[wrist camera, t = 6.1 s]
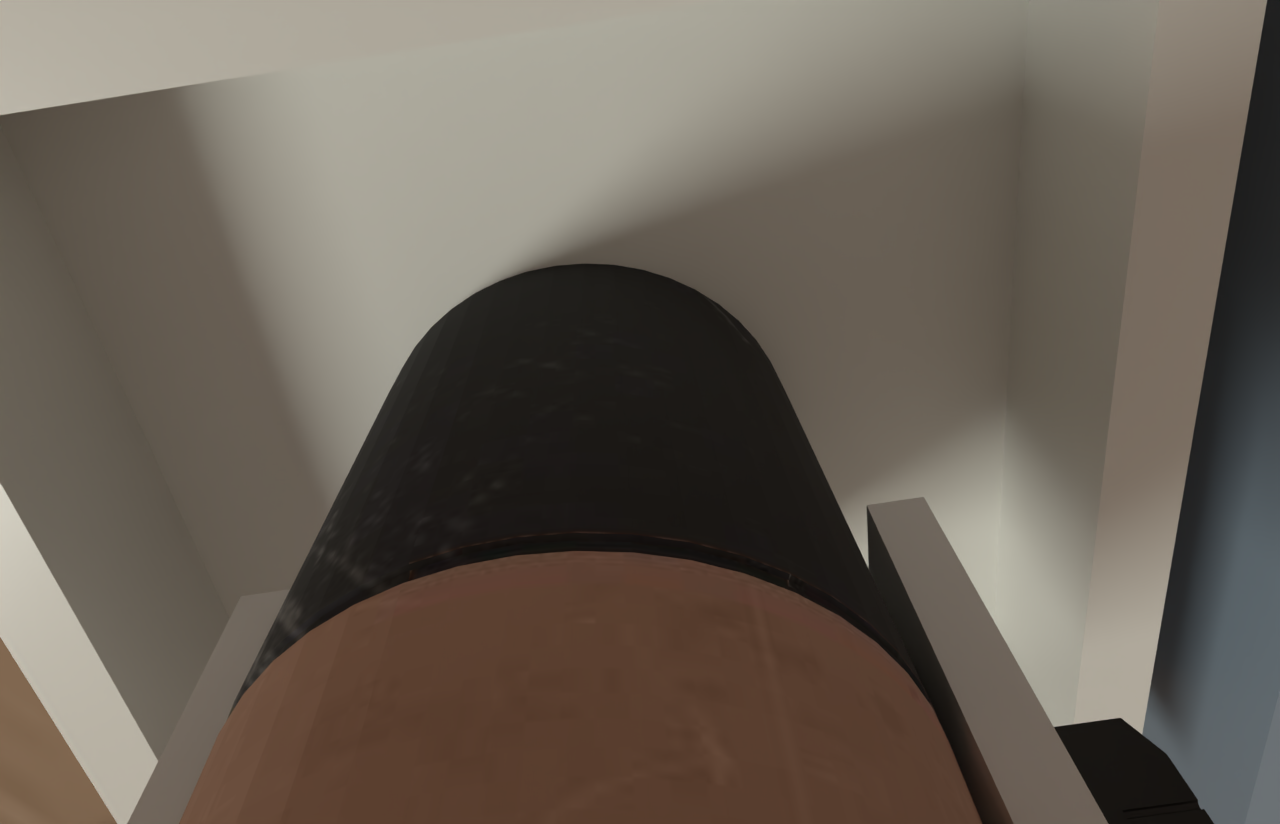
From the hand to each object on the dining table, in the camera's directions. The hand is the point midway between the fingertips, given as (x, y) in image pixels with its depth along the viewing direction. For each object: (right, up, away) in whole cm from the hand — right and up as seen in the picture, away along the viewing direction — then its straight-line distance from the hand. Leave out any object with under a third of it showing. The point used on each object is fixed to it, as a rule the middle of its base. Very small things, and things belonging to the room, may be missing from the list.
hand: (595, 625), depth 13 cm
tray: (0, +3, +4) cm, 5 cm away
